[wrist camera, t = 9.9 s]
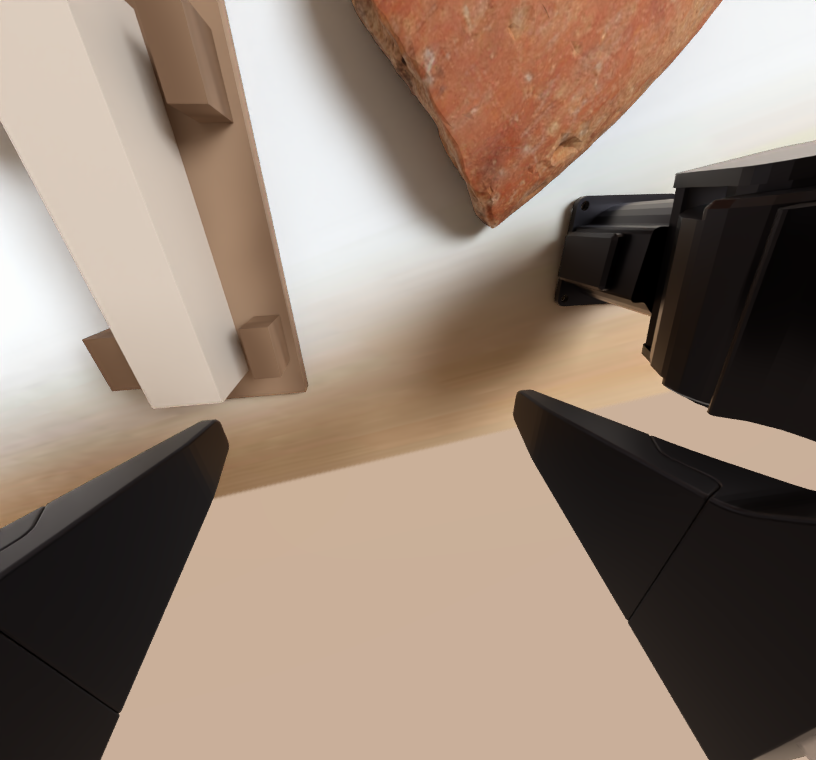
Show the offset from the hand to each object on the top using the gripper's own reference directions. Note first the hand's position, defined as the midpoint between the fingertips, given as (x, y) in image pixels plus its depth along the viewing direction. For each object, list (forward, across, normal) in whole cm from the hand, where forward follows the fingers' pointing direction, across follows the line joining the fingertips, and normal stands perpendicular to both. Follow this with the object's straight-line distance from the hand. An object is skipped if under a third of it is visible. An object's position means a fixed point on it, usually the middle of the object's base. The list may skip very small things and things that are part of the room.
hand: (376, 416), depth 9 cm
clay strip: (+11, +10, -5) cm, 16 cm away
